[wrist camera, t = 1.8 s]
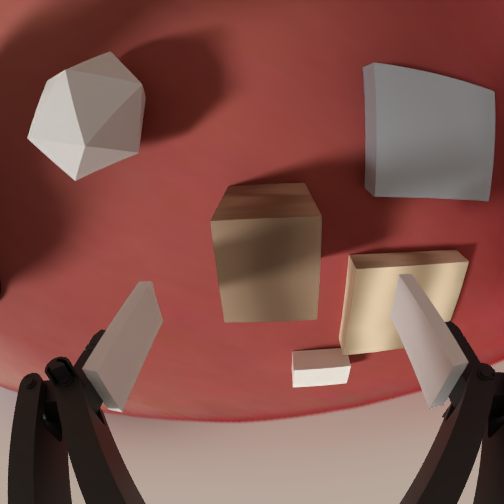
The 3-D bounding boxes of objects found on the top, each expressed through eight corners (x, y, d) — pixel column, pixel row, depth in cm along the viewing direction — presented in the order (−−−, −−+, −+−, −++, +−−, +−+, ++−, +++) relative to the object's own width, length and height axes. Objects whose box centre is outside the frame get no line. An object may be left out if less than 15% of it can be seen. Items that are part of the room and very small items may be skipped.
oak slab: (338, 335, 30) (343, 355, 27) (347, 252, 25) (356, 269, 23) (432, 324, 29) (442, 341, 26) (454, 247, 25) (468, 261, 22)
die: (123, 42, 18) (11, 71, 12) (188, 59, 15) (33, 93, 9) (119, 125, 24) (25, 164, 18) (174, 164, 22) (57, 220, 15)
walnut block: (236, 263, 26) (224, 322, 19) (228, 186, 23) (210, 221, 16) (304, 261, 26) (316, 319, 18) (304, 182, 23) (321, 216, 15)
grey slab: (362, 186, 23) (374, 196, 20) (361, 68, 18) (373, 62, 16) (471, 191, 22) (488, 201, 19) (475, 90, 17) (494, 91, 15)
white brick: (291, 367, 32) (292, 387, 29) (292, 349, 31) (293, 370, 28) (342, 363, 32) (346, 383, 29) (345, 346, 30) (351, 365, 28)
